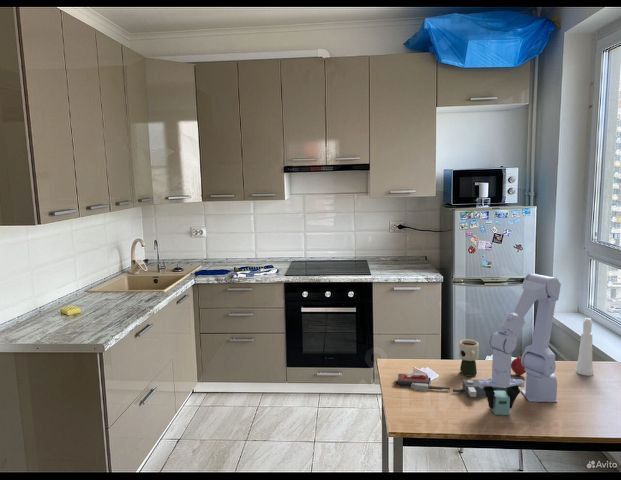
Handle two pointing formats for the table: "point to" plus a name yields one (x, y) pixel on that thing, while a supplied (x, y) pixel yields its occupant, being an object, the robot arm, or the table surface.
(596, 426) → the table surface
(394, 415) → the table surface
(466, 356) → the character mug
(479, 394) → the power strip
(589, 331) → the cosmetic bottle
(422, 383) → the walkie-talkie
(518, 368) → the onion
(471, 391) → the block
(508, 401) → the charger
